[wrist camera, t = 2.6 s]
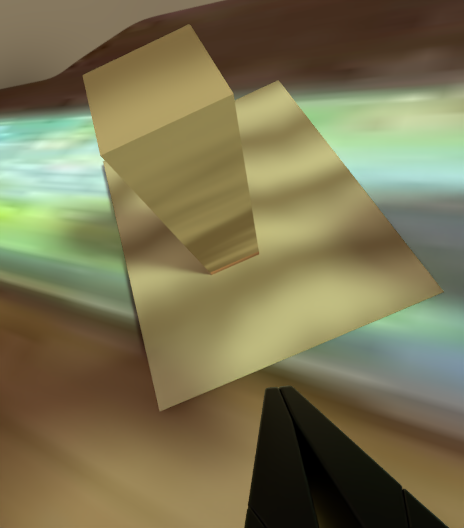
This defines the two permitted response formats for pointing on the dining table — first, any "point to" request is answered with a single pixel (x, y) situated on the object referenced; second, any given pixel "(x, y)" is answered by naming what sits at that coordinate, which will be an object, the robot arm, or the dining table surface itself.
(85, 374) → the dining table surface
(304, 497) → the robot arm
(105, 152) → the block
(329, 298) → the board
